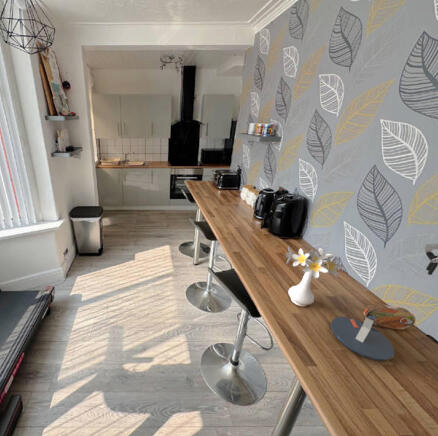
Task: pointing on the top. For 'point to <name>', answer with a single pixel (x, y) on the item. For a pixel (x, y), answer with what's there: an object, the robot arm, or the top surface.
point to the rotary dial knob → (362, 338)
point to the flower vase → (310, 273)
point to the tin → (389, 316)
